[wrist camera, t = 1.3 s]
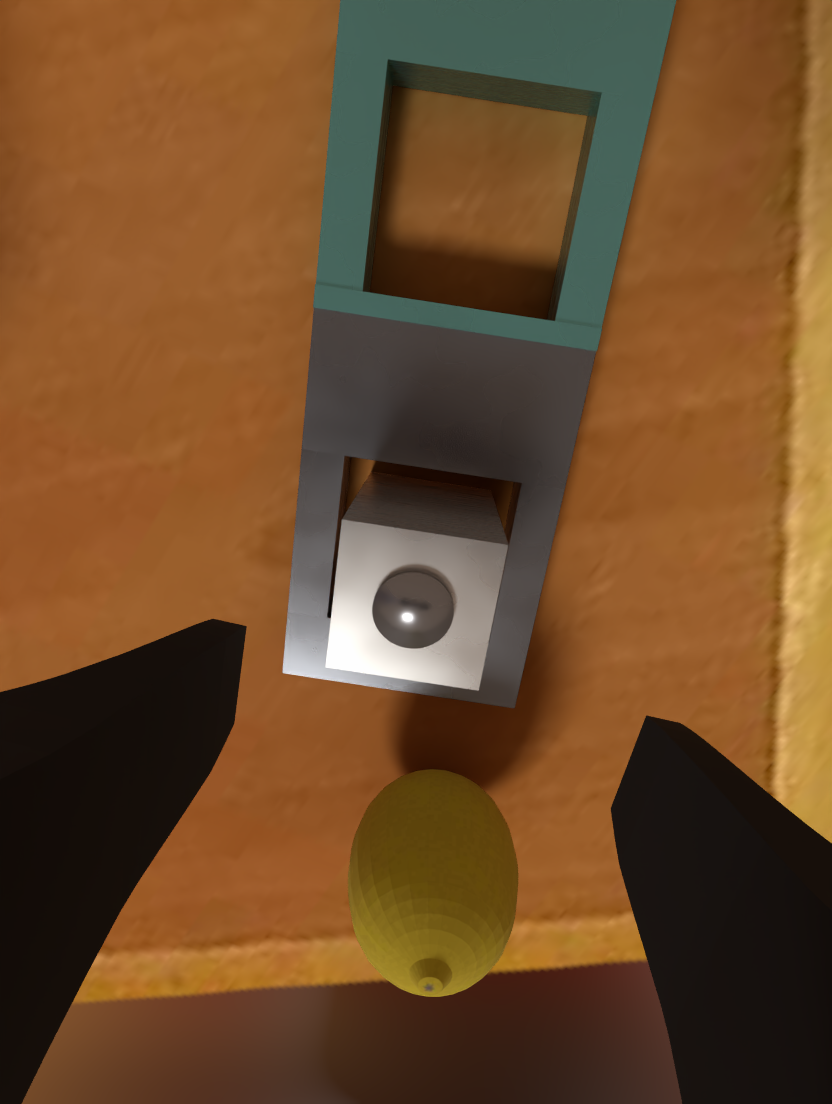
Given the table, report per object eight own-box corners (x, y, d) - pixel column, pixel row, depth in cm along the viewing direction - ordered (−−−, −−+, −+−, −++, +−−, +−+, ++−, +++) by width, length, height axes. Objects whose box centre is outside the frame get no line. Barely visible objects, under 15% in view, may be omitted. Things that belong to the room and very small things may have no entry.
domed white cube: (357, 583, 21) (323, 671, 16) (371, 471, 20) (340, 521, 14) (470, 600, 22) (479, 694, 16) (490, 489, 20) (509, 547, 14)
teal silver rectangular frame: (293, 651, 22) (281, 674, 21) (355, -26, 16) (345, -68, 14) (509, 684, 22) (514, 709, 21) (657, 21, 16) (680, -16, 14)
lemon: (413, 701, 23) (397, 875, 15) (534, 772, 24) (576, 972, 16) (338, 800, 24) (290, 1004, 17) (453, 864, 25) (457, 1086, 18)
